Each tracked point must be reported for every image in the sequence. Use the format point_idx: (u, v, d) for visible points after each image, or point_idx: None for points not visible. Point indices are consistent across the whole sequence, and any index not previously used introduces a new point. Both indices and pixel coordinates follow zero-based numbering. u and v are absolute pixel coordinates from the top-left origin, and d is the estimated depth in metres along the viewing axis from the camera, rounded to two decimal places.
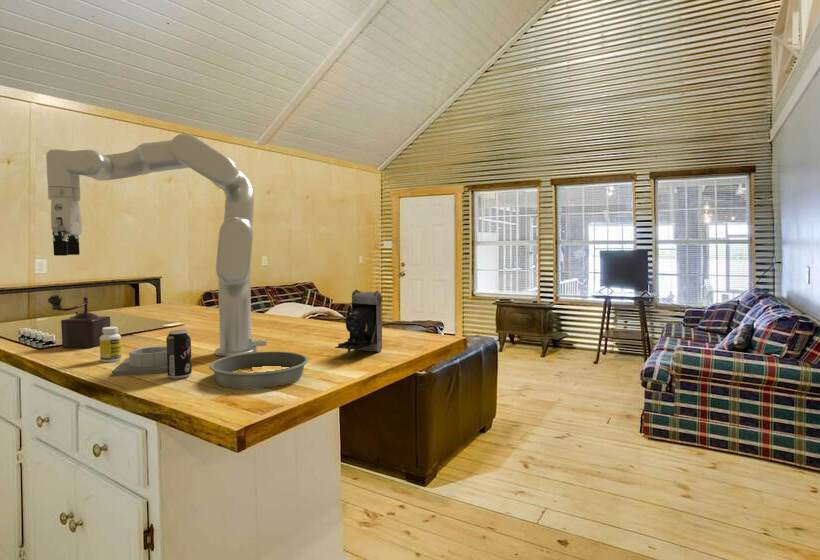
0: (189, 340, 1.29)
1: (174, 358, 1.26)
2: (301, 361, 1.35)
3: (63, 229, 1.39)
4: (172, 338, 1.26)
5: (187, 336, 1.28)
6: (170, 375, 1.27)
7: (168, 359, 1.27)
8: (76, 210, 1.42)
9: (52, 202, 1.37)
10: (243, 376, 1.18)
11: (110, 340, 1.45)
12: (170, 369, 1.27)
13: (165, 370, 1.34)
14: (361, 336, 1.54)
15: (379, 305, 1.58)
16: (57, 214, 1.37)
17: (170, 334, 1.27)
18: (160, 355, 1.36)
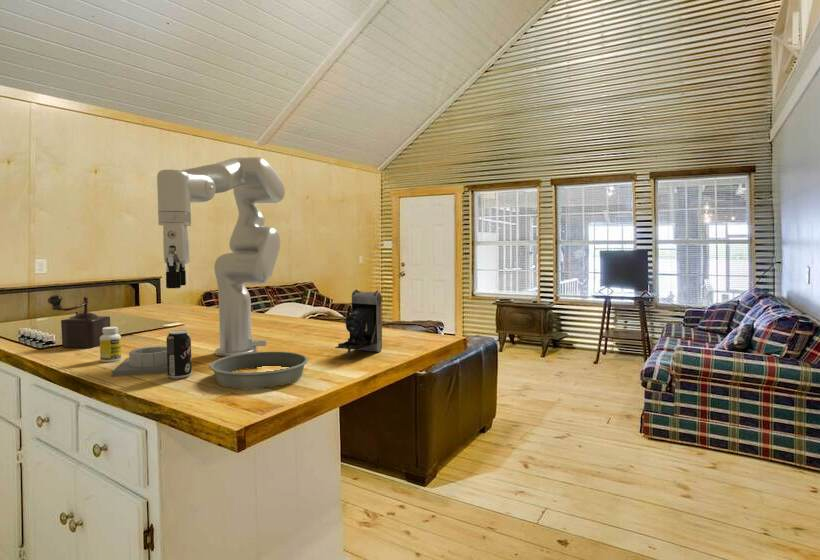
0: (189, 340, 1.29)
1: (174, 358, 1.26)
2: (301, 361, 1.35)
3: (175, 258, 1.24)
4: (172, 338, 1.26)
5: (187, 336, 1.28)
6: (170, 375, 1.27)
7: (168, 359, 1.27)
8: (187, 236, 1.27)
9: (165, 228, 1.22)
10: (243, 376, 1.18)
11: (110, 340, 1.45)
12: (170, 369, 1.27)
13: (165, 370, 1.34)
14: (361, 336, 1.54)
15: (379, 305, 1.58)
16: (170, 242, 1.22)
17: (170, 334, 1.27)
18: (160, 355, 1.36)
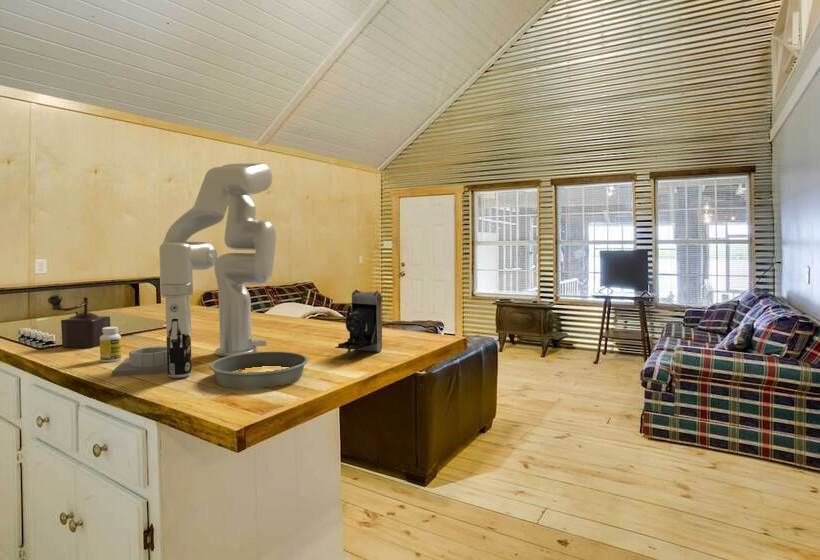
0: (189, 339, 1.29)
1: None
2: (301, 361, 1.35)
3: (178, 331, 1.26)
4: None
5: (187, 335, 1.28)
6: (170, 374, 1.27)
7: (168, 358, 1.27)
8: (189, 307, 1.29)
9: (167, 302, 1.23)
10: (243, 376, 1.18)
11: (110, 340, 1.45)
12: (170, 368, 1.27)
13: (165, 370, 1.34)
14: (361, 336, 1.54)
15: (379, 305, 1.58)
16: (173, 315, 1.23)
17: None
18: (160, 355, 1.36)
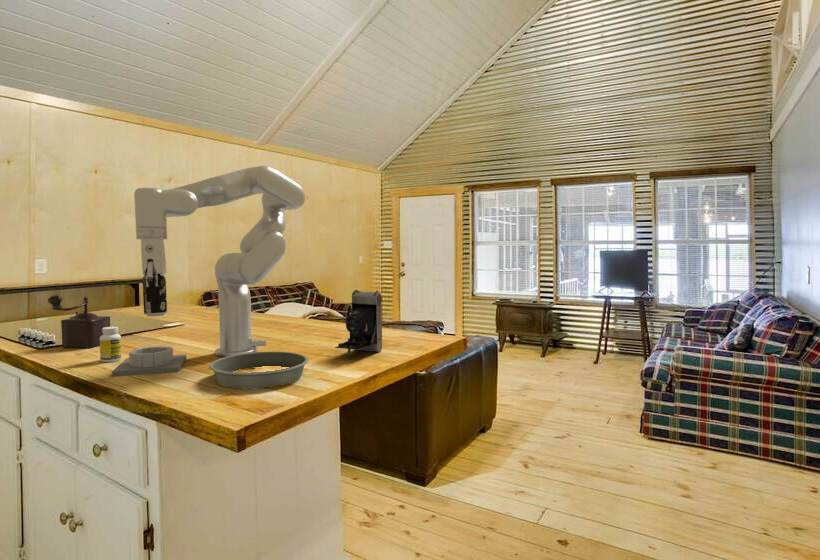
0: (164, 280, 1.37)
1: None
2: (301, 361, 1.35)
3: None
4: None
5: (162, 276, 1.37)
6: (146, 312, 1.35)
7: (144, 297, 1.35)
8: (163, 250, 1.37)
9: (143, 243, 1.31)
10: (243, 376, 1.18)
11: (110, 340, 1.45)
12: (146, 306, 1.35)
13: (165, 370, 1.34)
14: (361, 336, 1.54)
15: (379, 305, 1.58)
16: (148, 256, 1.31)
17: None
18: (160, 355, 1.36)
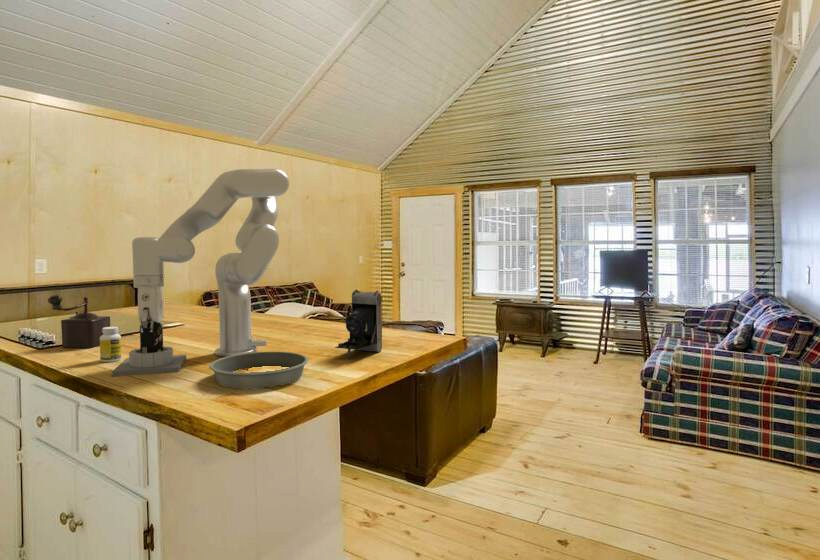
0: (161, 328, 1.40)
1: None
2: (301, 361, 1.35)
3: (149, 318, 1.36)
4: None
5: (159, 324, 1.39)
6: None
7: None
8: (160, 296, 1.39)
9: (139, 292, 1.34)
10: (243, 376, 1.18)
11: (110, 340, 1.45)
12: None
13: (165, 370, 1.34)
14: (361, 336, 1.54)
15: (379, 305, 1.58)
16: (144, 304, 1.34)
17: None
18: (160, 355, 1.36)
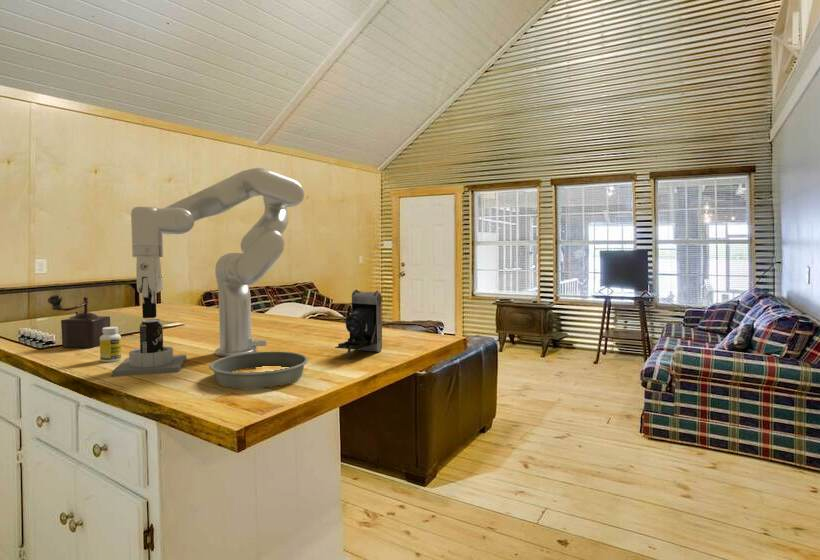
0: (161, 328, 1.40)
1: (146, 345, 1.37)
2: (301, 361, 1.35)
3: None
4: (144, 326, 1.37)
5: (159, 324, 1.39)
6: None
7: (141, 345, 1.38)
8: (159, 267, 1.39)
9: (138, 261, 1.33)
10: (243, 376, 1.18)
11: (110, 340, 1.45)
12: None
13: (165, 370, 1.34)
14: (361, 336, 1.54)
15: (379, 305, 1.58)
16: (143, 273, 1.33)
17: (143, 322, 1.38)
18: (160, 355, 1.36)
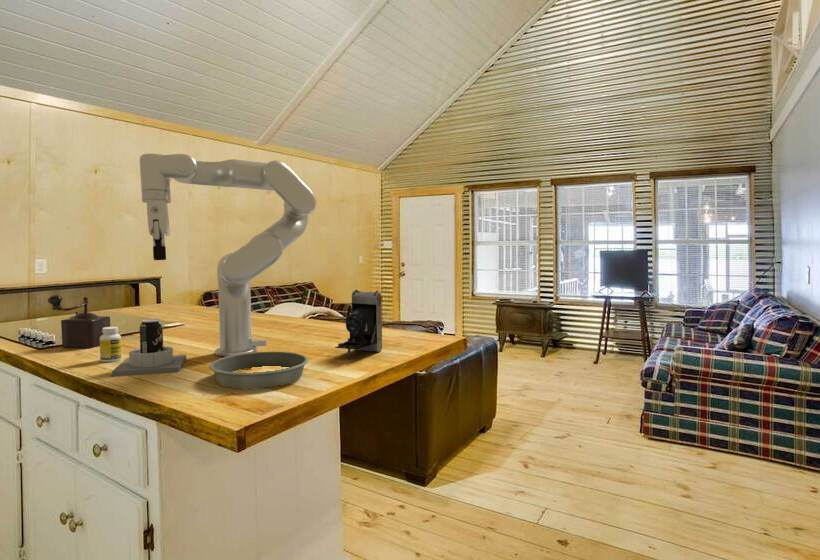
0: (161, 328, 1.40)
1: (147, 345, 1.37)
2: (301, 361, 1.35)
3: (159, 232, 1.45)
4: (144, 326, 1.37)
5: (159, 324, 1.39)
6: None
7: (141, 345, 1.38)
8: (167, 212, 1.47)
9: (148, 205, 1.41)
10: (243, 376, 1.18)
11: (110, 340, 1.45)
12: None
13: (165, 370, 1.34)
14: (361, 336, 1.54)
15: (379, 305, 1.58)
16: (154, 216, 1.41)
17: (143, 322, 1.38)
18: (160, 355, 1.36)
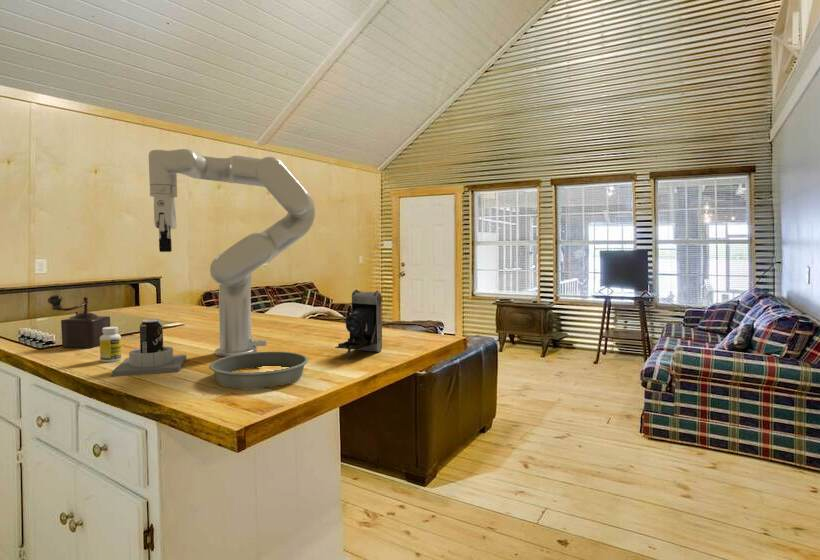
0: (161, 328, 1.40)
1: (147, 345, 1.37)
2: (301, 361, 1.35)
3: None
4: (145, 326, 1.37)
5: (159, 324, 1.39)
6: None
7: (141, 345, 1.38)
8: (174, 206, 1.53)
9: (155, 198, 1.48)
10: (243, 376, 1.18)
11: (110, 340, 1.45)
12: None
13: (165, 370, 1.34)
14: (361, 336, 1.54)
15: (379, 305, 1.58)
16: (160, 209, 1.48)
17: (143, 322, 1.38)
18: (160, 355, 1.36)
